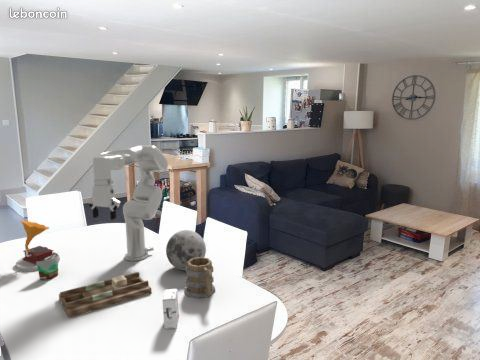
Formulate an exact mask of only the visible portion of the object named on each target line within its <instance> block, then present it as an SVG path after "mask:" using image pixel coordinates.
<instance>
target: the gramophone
mask: <svg viewBox="0 0 480 360" xmlns="http://www.w3.org/2000/svg"><path fill="white" fill-rule="evenodd" d="M20 223H21V224H22V225H23V228H24V231H25V232H26V236H27V237H26V239H25V245H24V250H23V251H22V252H24V257H22V258H20V259H17V261H16V262H15V268H16V269H17V270H18V271H20V272H37V271H38V267H37V266H36V263H37V261H41V260H43V259H44V258H46V257H49V256H51V255H52V254H53V252H54V251H55V250H54V249H50V248H48V247H46V246H42V245H38V246H35V247H32V248H29V245H30V243H31V241H32V240H33V239H34V238H35V237H36V236H38V235H41V234H42V233H43V232H45V231H47V230H49V229H50V227H49V226H45V224H40V223H38V222H35V221H33V222H32V221H29V220H25V221H24V220H21V219H20ZM59 258H60V259H59V260H58V264H59V263H60V261H61V256H60V255H59Z"/></svg>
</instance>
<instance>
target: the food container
mask: <svg viewBox="0 0 480 360" xmlns="http://www.w3.org/2000/svg"><path fill="white" fill-rule="evenodd" d="M52 253H53V254H52V255H51V256H49V257H46V258H44V259H43V260H41V261H37V263H36V266H37V267H38V277H39V281H47V280H52V279H55V278H56V277H58V275H59V263H58V260H59V259H60V260H61V257H60V258H59V256H60V254H59V253H58V252H54V251H52Z"/></svg>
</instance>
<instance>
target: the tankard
mask: <svg viewBox="0 0 480 360" xmlns="http://www.w3.org/2000/svg"><path fill="white" fill-rule="evenodd" d="M213 272H214V266H213V262H212V261H211V259H210V258H208V257H201V258H200V257H197V258H192V259H190V260H189V261H188V262H187V267H186V270H185V273H186V275H187V276H186V278H185V282H186V284H187V285H186V286H185V287H184V292H185V294H186V295H187V296H188V297H190V296H192V297H191V298H195V297H196V298H197V299H202V298H207V297H210V296H212V294H213V293H215V291H216V287H215V285H214V284H213V283H214V276H213ZM206 296H207V297H206ZM201 297H202V298H201Z"/></svg>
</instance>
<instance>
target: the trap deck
mask: <svg viewBox="0 0 480 360" xmlns="http://www.w3.org/2000/svg"><path fill="white" fill-rule="evenodd" d="M123 276H124V277H125V278H126V279H127V286H125V287H122V288H118V289H114V288H113V287H112V278H109V279H106V280H102V281H98V282H94V283H91V284H90V283H89V284H86V285H83V286H79V287H74V288H71V289H67V290H63V291H60V292H59V294H58V299H59V301H60V303H61V306H62V308H63V310H64V311H65V314H66V316H67V318H68V319H71V318H74V317H77V316H80V315H83V314H88V313H90V312H93V311H97V310H100V309H103V308H107V307H110V306H113V305H117V304H120V303H122V302H124V303H125V302H126V301H129V300H133V299H137V298H139V297H144V296H146V295H149V294H152V293H153V292H152V287H151V286H150V285H149V280H144V279H143V278H142V277H141V276H140V272H139V271H136V272H131V273H128V274H125V275H123Z"/></svg>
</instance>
